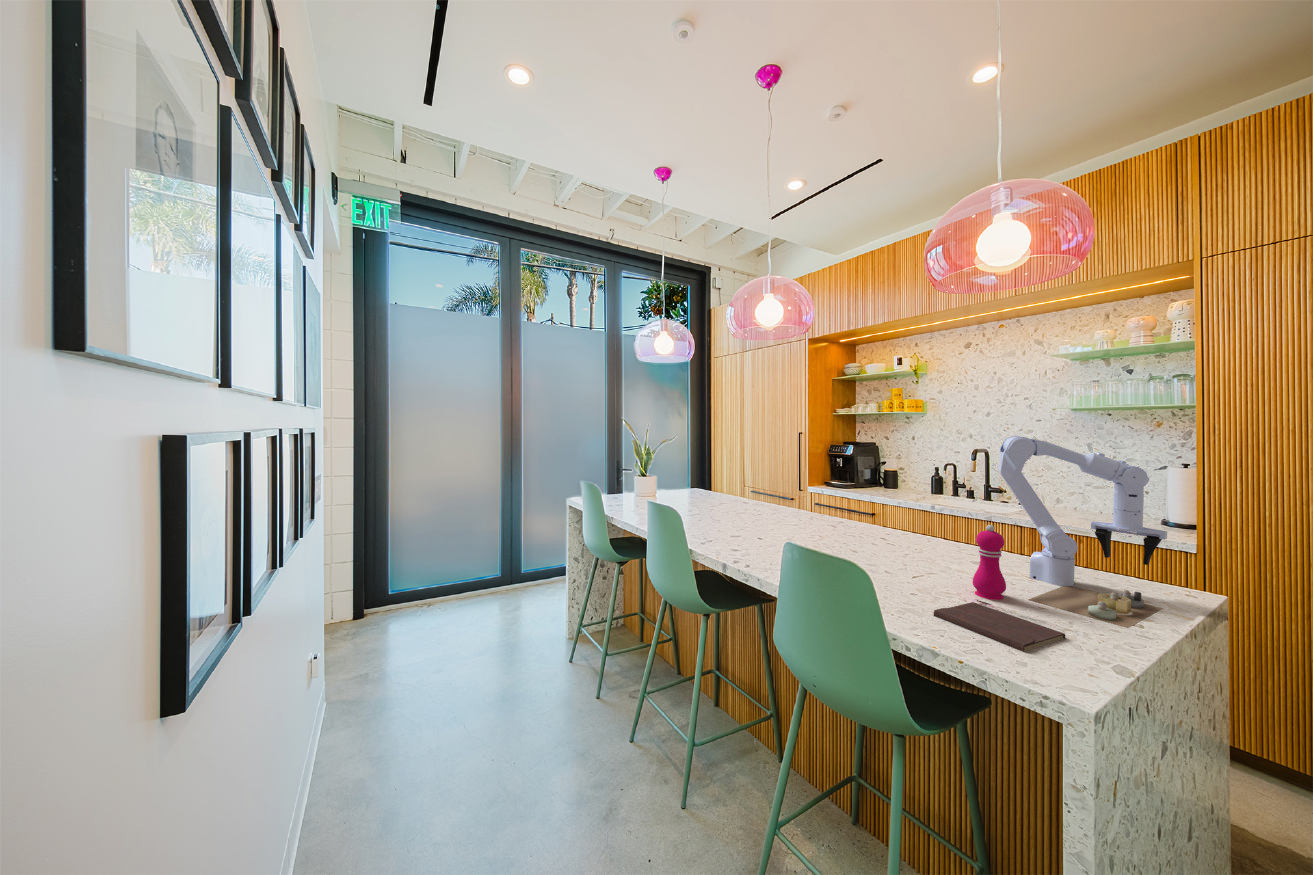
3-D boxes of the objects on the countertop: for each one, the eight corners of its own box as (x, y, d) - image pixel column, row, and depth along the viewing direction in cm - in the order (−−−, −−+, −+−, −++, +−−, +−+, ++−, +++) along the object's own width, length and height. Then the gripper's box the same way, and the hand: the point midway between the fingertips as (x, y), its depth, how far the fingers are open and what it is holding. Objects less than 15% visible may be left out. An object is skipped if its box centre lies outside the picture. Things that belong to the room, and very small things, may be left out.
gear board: (1027, 605, 122) (1027, 583, 122) (1066, 590, 133) (1066, 569, 133) (1127, 634, 106) (1128, 608, 105) (1163, 614, 116) (1163, 591, 116)
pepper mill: (1011, 607, 121) (1013, 528, 120) (979, 605, 123) (981, 527, 122) (997, 596, 128) (999, 522, 127) (967, 594, 130) (968, 521, 129)
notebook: (973, 607, 122) (973, 600, 122) (1065, 640, 104) (1065, 631, 104) (933, 617, 116) (933, 609, 116) (1023, 654, 98) (1023, 644, 98)
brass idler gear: (1094, 607, 116) (1095, 595, 116) (1104, 603, 119) (1104, 591, 119) (1124, 615, 112) (1124, 603, 112) (1133, 611, 114) (1133, 598, 114)
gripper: (1087, 507, 132) (1086, 556, 133) (1162, 516, 120) (1160, 570, 120) (1096, 504, 136) (1094, 552, 136) (1170, 513, 124) (1168, 565, 124)
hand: (1126, 560), depth 129 cm, fingers open, 7 cm apart
